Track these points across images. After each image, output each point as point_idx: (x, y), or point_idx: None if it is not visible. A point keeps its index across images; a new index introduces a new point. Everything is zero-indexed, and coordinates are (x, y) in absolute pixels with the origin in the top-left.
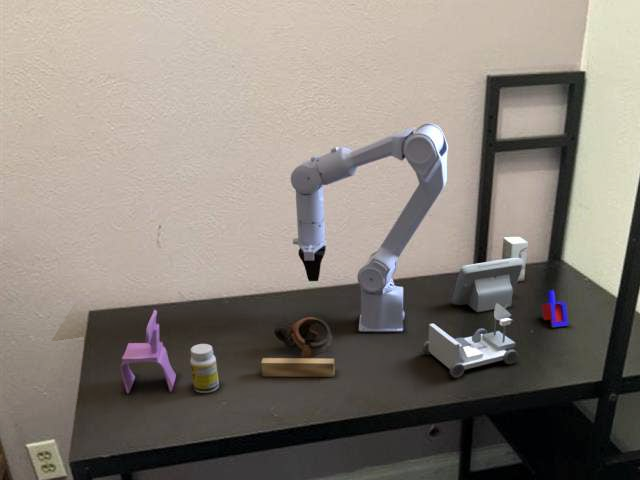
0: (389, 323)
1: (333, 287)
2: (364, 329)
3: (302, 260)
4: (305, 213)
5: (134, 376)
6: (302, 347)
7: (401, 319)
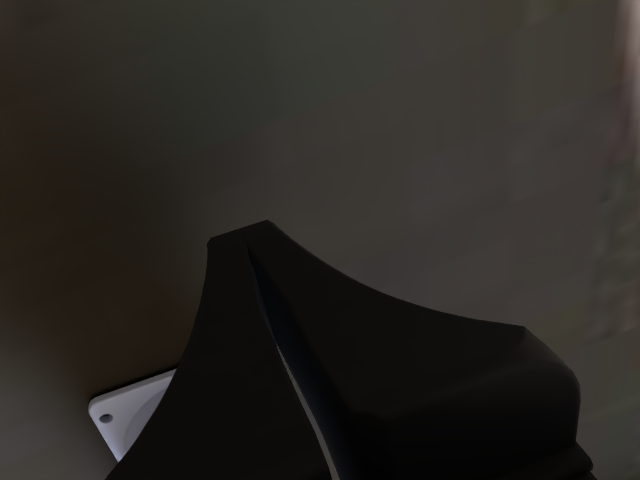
0: None
1: (623, 69)
2: (106, 423)
3: (142, 439)
4: None
5: None
6: None
7: None
